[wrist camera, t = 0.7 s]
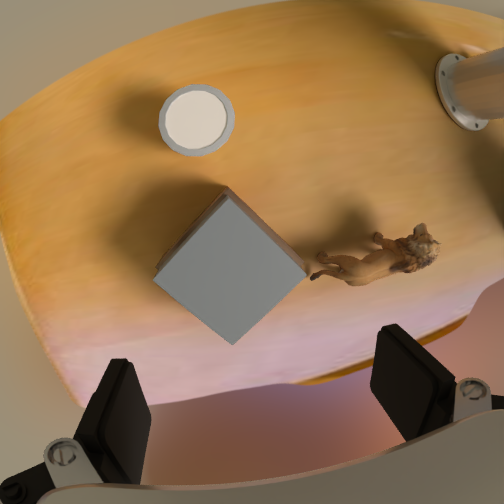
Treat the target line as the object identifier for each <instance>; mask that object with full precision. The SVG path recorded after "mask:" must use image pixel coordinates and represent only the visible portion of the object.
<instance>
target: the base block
mask: <svg viewBox="0 0 504 504" xmlns="http://www.w3.org/2000/svg"><path fill="white" fill-rule="evenodd" d="M227 195H228V196H229V197H230V198H231V199H232V200H233V201H234V202H235V203H236V204H237V205H238V206H239V207H240V208H241V209H243V210H244V211H245V212H246V213H247V214H248V215H249V216H250V217H251V218H252V219H253V220H254V221H255V222H256V223H257V224H258V225H259V226H260V227H261V228H262V229H263V230H264V231H265V232H266V233H267V234H268V235H269V236H270V237H271V238H272V239H273V240H274V241H275V242H276V243H277V244H278V245H279V246H280V247H281V248H282V249H283V250H284V251H285V252H286V253H287V254H288V255H289V256H290V257H292V258H293V259H294V260H295V261H296V262H297V264H298V265H299V266H301V265H302V264H303V263H304V261H303V260H302V259H301V258H300V256H299V255H298V254H297V253H296V252H295V251H294V250H293V249H292V248H291V247H290V246H289V245H288V244H287V243H286V242H285V241H284V240H283V239H282V238H281V237H280V236H278V235H277V234H276V233H275V232H274V231H273V230H272V229H271V228H270V227H269V226H268V225H267V224H266V223H265V222H264V221H263V220H262V219H261V218H260V217H259V216H258V215H257V214H256V213H255V212H254V211H253V210H252V209H251V208H250V207H249V206H248V205H247V204H246V203H244V202H243V201H242V200H241V199H240V198H239V197H238V196H237V195H236V194H235V193H234V192H233V191H232V190H231V189H230V188H229V187H228V186H227V187H226V188H225V189H224V190H223V191H222V192H221V193H220V195H219V196H218V197H217V198H216V199H215V200H214V201H213V202H212V203H211V204H210V205H209V206H208V207H207V208H206V209H205V210H204V211H203V212H202V214H201V215H200V216H199V217H198V218H197V219H196V220H195V221H194V222H193V223H192V224H191V225H190V227H189V228H188V229H187V230H186V231H185V232H184V233H183V234H182V235H181V236H180V238H179V239H178V240H177V241H176V242H175V243H174V244H173V245H172V246H171V248H170V249H169V250H168V251H167V252H166V253H165V254H164V256H163V257H162V258H161V260H160V261H159V263H158V264H157V266H156V267H155V268H157V269H158V270H159V269H160V267H161V266H162V265H163V264H164V262H165V261H166V260H167V259H168V258H169V257H170V256H171V255H172V254H173V252H174V251H175V250H176V249H177V248H178V247H179V246H180V245H181V244H182V243H183V242H184V240H185V239H186V238H187V237H188V236H189V235H190V234H191V233H192V232H193V231H194V230H195V229H196V228H197V226H198V225H199V224H200V223H201V222H202V221H203V220H204V219H205V218H206V217H207V216H208V215H209V214H210V213H211V212H212V211H213V210H214V209H215V208H216V206H217V205H218V204H219V203H220V202H221V201H222V200H223V199H224V198H225V197H226V196H227Z"/></svg>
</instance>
